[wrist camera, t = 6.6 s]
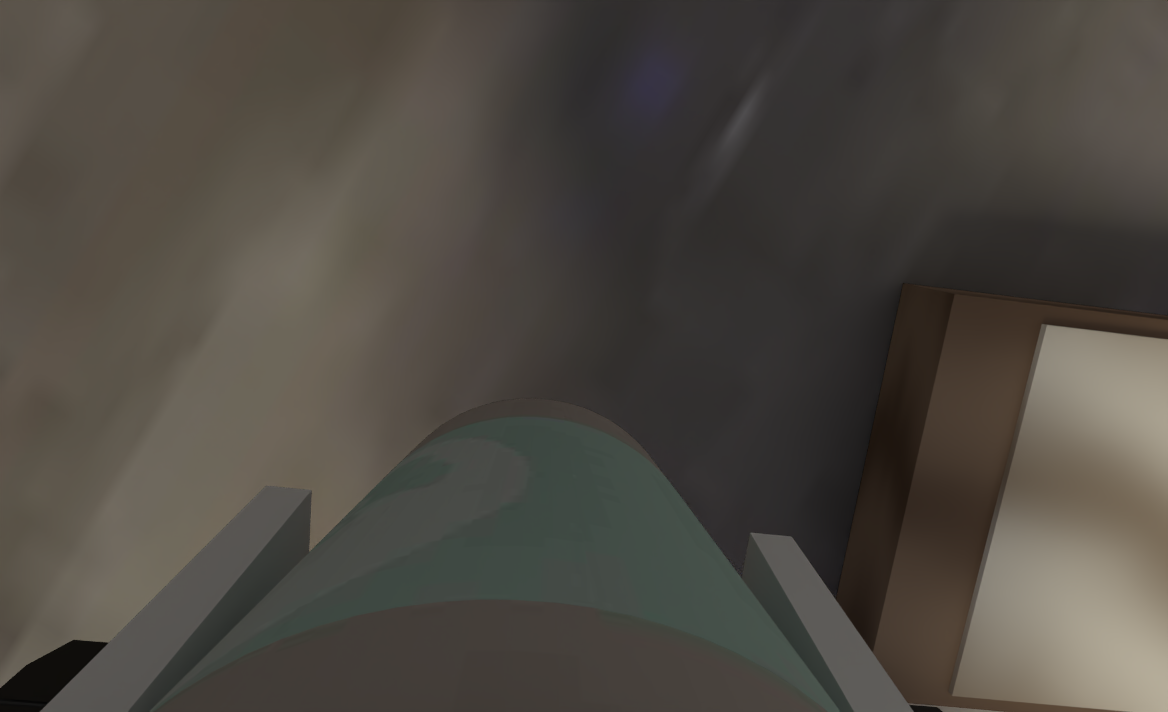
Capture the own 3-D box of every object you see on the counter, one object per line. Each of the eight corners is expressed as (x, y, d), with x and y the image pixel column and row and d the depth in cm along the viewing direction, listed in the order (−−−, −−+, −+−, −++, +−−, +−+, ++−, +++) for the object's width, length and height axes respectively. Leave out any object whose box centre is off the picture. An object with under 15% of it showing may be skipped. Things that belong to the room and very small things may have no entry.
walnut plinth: (903, 283, 21) (958, 294, 18) (1399, 344, 22) (1529, 364, 19) (827, 641, 23) (865, 703, 20) (1277, 683, 24) (1376, 748, 21)
